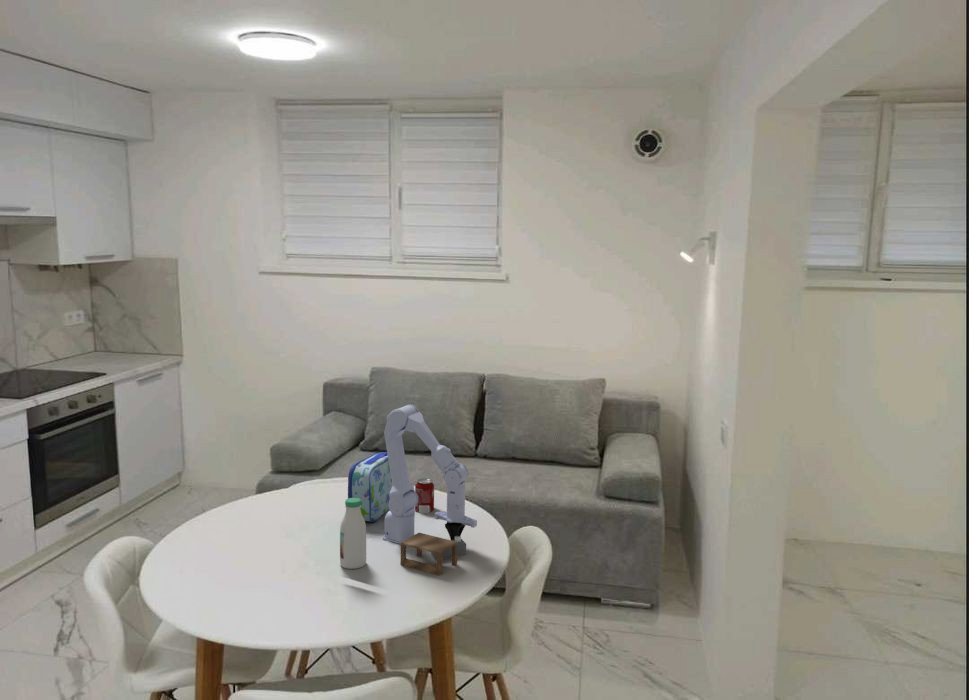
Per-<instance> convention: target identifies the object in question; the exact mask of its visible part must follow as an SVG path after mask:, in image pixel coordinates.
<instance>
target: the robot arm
mask: <svg viewBox="0 0 969 700" xmlns="http://www.w3.org/2000/svg"><path fill="white" fill-rule="evenodd" d="M405 431H406V432H409V433H410V432H411V433H415V434H416V435H417V436H418V438H419V439H421V441H422V442H423V443H424V445H425V446H426V447H427V448H428V449H429V450H430V451H431V455H430V456H431V460H433V462H434V463H435V464H436V465H437V468H439V470H440V471H441V472H442V474H443V475H444V476H443V481H444V483H445V484H446V512H443V511H436V512H434V520H442V521H446V523H444V527H445V529H446V531H447V533H448V535H449V540H455V536H461V535H462V533H463V531H464V529H465V527H466V526H469V527H470V528H473V529H474V528H476V527H477V526H478V520H477V519H475V518H474V519H473V518H471V517H469V516H468V515H466V514H465V513H466V507H465V506H466V480H467V479H468V477H469V470H468V468H467V466H466V465H465V464H463V463H460V461H458V460H457V459H456V458H455V456H454V455H453V454H452V453H451V452H452V450H451V449H450V448H449V447H447V446H446V445H442V444H440V442H439V441H438V439H437V438H436V436H435V435H434V433H433V432H432V431H431V428H430V427H429V426H428V424H427V423H426V422H425V419H424V416H423V414H422V413H421V412H420V411H419V409H418V407H417V406H415V405H414V404H406V405H404V406H402V407H399V408H396V409H393V410H392V411H390V412H389V414H387V416H386V424H385V428H384V431H383V433H384V440H385V441H384V442H385V448H386V452H387V454H388V460H389V466H390V472H391V479H392V485H393V486H392V488H391V491H390V493H389V496H390V500H389V504H388V505H389V510H388V511H387V512H386V513H385V518H384V521H383V522H384V523H383V524H384V528H383V530H384V532H383V533H384V536H383V537H382V540H384V541H388V542H393V543H395V544H396V543H397V544H400V545H401V542H402V541H404V540H406V539H408V538H410V537H412V536H413V535H415V512H416V511H415V506H416V505H417V503H418V496H417V494H416V492H415V485H413V484H412V483H411V482H410V479H409V473H408V467H407V460H406V455H405V454H406V453H405V449H404V441H403V434H404V433H405ZM461 537H462V536H461Z"/></svg>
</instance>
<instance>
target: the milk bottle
mask: <svg viewBox="0 0 969 700" xmlns="http://www.w3.org/2000/svg"><path fill="white" fill-rule="evenodd" d="M344 504H345V508H346V509H345V513H344V516H343V518H342V520H341V523H340V529H339V531H340V532H339V563H340V566H341V568H344V569H348V570H355V569H359V568H363V567H365V566H366V564H367V527H366V526H367V525H366V521H365V520H364V518H363V516H362V514H361V510H360V507H361V499H359V498H349V499H348V498H347V499H345V502H344Z"/></svg>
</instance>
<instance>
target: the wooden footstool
mask: <svg viewBox="0 0 969 700" xmlns="http://www.w3.org/2000/svg"><path fill="white" fill-rule="evenodd" d="M407 547H410V548H414V549H416V556H417V557H421V556H422V555H423V551H425V552H428V553H431V552H432V553H436V554H437V557H436V561H435V563H436V565H432V564H429V563H426V562H421V561H418V560H414V559H411V558H407ZM451 547H452V557H451V566H456V565H458V556H457V542H456V541H452V540H451V539H447V538H444V537H439V536H435V535H430V534H425V533H423V532H417V533H414V535H413V536H412V537H410V538H408V539H406V540H404V541H402V542H401V544H400V566H403V567H404V566H405V567H408V568H412V569H416V570H420V571H422V572H426V573H430V574H433V575H434V574H435V575H437V576H438V577H439V576H441V575H443V559H442V553H443V552H445V551H446V550H448V549H450V548H451Z"/></svg>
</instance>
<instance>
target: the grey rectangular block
mask: <svg viewBox="0 0 969 700" xmlns="http://www.w3.org/2000/svg"><path fill="white" fill-rule="evenodd" d="M452 541H456V542H457V557H461V556H466V555H467V542H465V541H464V540H463V539H462V536H455V540H452ZM430 555H431V557H433V559H434V560H436V557H437V554H436V553H432V552H430ZM444 559H452V547H451V548H450V549H448V550H446V551H445V552H443V553H442V560H444Z"/></svg>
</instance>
